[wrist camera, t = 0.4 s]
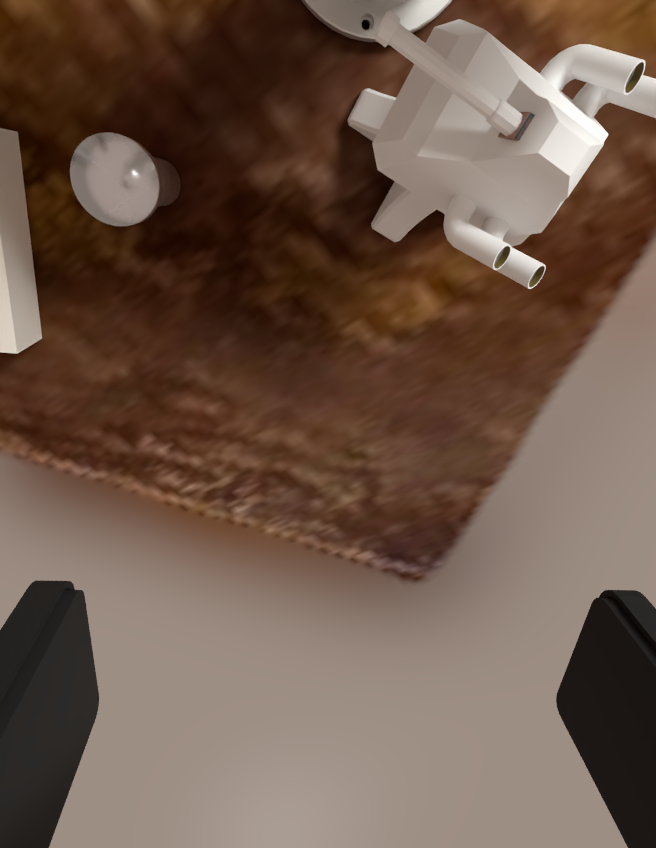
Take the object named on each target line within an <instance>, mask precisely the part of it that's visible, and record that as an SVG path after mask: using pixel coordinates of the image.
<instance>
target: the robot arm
mask: <svg viewBox="0 0 656 848" xmlns="http://www.w3.org/2000/svg"><path fill="white" fill-rule="evenodd" d="M301 1H302V2H303V3H304V5H305V6H306V7H307V8H308V9H309V10H310V11H311V13H312V14H313V15H314V16H315V17H316V18H317V19H319V20H320V21H321V22H322V23H324V24H325V25H326V26H328V27H329V28H330V29H332V30H333V31H336V32H338V33H340V34H342V35H344V36H346V37H348V38H351V39H356V40H360V41H365V42H377V41H376V40H375V33H376V31H377V29H378V27H379V25H380V23H381V21H382V19H383V17H384V15H385V13H386V12H387V11H389V10H390V11H391V12H393V13H394V14H395V15H397V16H398V17H399V18H400V24H401V25H402V26H403V27H405V28H406V29H407V30H409V31H410V32H411V33H414V32H416V31H418V30H420V29H422V28H423V27H425V26H426V25H427V24H429V23H430V22H431V21H432V20H434V19H435V18H436V17H437V16H439V14H440V13H441V12H442V11H443V10H444V9H445V8H446V7H447V6H448V5H449V4H450V2H451V1H452V0H301ZM365 21H366V22H368V24H369V29H368V30H364V29H363V28H362V23H363V22H365ZM556 701H557V708H558V711H559V714H560V716H561V718H562V720H563V722H564V724H565V726H566V728H567V730H568V732H569V734H570V736H571V738H572V739H573V742H574V744H575V745H576V747H577V749H578V751H579V753H580V755H581V757H582V759H583V761H584V763H585V765H586V767H587V769H588V771H589V773H590V775H591V777H592V778H593V780H594V782H595V784H596V786H597V788H598V790H599V792H600V794H601V796H602V798H603V800H604V802H605V804H606V805H607V808H608V809H609V811H610V813H611V815H612V817H613V819H614V821H615V823H616V825H617V827H618V829H619V831H620V833H621V835H622V837H623V839H624V841H625V843H626V844H627V846H628V848H656V609H655V608H654V606H653V605H652V604H651V603H650V602H649V601H648V599H647V598H646V597H645V596H644V595H643V594H641V593H640V592H638V591H628V590H627V591H626V590H606V591H604V592H602V593H601V595H600V597H599V598H596V599H594V601H593V602H592V604H591V607H590V610H589V612H588V615H587V617H586V620H585V622H584V625H583V628H582V630H581V633H580V635H579V638H578V641H577V643H576V646H575V648H574V651H573V654H572V656H571V659H570V661H569V664H568V667H567V669H566V672H565V674H564V677H563V680H562V682H561V685H560V688H559V690H558V693H557V700H556ZM98 704H99V693H98V686H97V680H96V672H95V665H94V659H93V652H92V646H91V638H90V632H89V624H88V617H87V611H86V603H85V597H84V592H83V591H82V590H75V589H74V586H73V584H72V582H70V581H35V582H33V583H32V584H31V585H30V586H29V587H28V589H27V590H26V592H25V593H24V595H23V596H22V598H21V599H20V601H19V602H18V604H17V606H16V608H15V609H14V610H13V612H12V613H11V615H10V616H9V618H8V619H7V621H6V622H5V624H4V625H3V627H2V628H1V630H0V848H49V845H50V842H51V840H52V836H53V834H54V831H55V829H56V826H57V823H58V820H59V818H60V815H61V812H62V809H63V807H64V804H65V801H66V798H67V796H68V793H69V790H70V787H71V784H72V782H73V779H74V776H75V774H76V771H77V768H78V765H79V763H80V760H81V757H82V754H83V752H84V749H85V746H86V744H87V741H88V738H89V735H90V732H91V730H92V727H93V724H94V722H95V719H96V715H97V711H98Z"/></svg>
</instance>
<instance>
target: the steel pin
mask: <svg viewBox="0 0 656 848" xmlns="http://www.w3.org/2000/svg"><path fill="white" fill-rule="evenodd" d="M70 179H71V184H72V188H73V190H74V193H75V195H76V197H77V199H78V200H79V202H80V203H81V205H82V206H83V207H84V208H85V210H86V211H87V212H88V213H89V214H91V215H92V216H93V217H95V218H96V219H98V220H99V221H101V222H104V223H106V224H109V225H113V226H130V225H134V224H138V223H140V222H143V221H144V220H146V219H148V218H149V217H150V216H151V215H152V214H153V213H154V212H155V210H156V209H157V207H159V206H165V205H169V204H171V203H173V202H174V201H175V200H176V199H177V197H178V196H179V193H180V190H181V181H180V177H179V174H178V172H177V170H176V169H175V168H174V167H173V165H171V164H170V163H169V162H167V161H166V160H163V159H160V158H155V157H152V156H151V154H150V153H149V152H148V151H147V150H146V149H145V148H144V147H143V146H142V145H141V144H140V143H138V142H137V141H135V140H133V139H131V138H129V137H126V136H123V135H120V134H116V133H108V132H105V133H98V134H94V135H92V136H89V137H88V138H86V139H85V140H83V141H82V142H81V143H80V144H79V146H78V147H77V148H76V150H75V152H74V154H73V156H72V160H71V164H70Z"/></svg>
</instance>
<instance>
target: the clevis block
mask: <svg viewBox="0 0 656 848" xmlns="http://www.w3.org/2000/svg"><path fill="white" fill-rule="evenodd" d="M41 339H42V332H41V324H40V315H39V307H38V298H37V290H36V281H35V273H34V264H33V256H32V247H31V239H30V230H29V222H28V213H27V205H26V197H25V188H24V180H23V171H22V163H21V154H20V146H19V137H18V132H17V131H12V130H7V129H2V128H0V352H2V353H14V354H18V353H19V352H21V351H23V350H24V349H26V348H28V347H29V346H31V345H32V344H34V343H36V342H37V341H39V340H41Z"/></svg>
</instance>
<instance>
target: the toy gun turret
mask: <svg viewBox="0 0 656 848" xmlns="http://www.w3.org/2000/svg"><path fill="white" fill-rule="evenodd" d="M375 40H376V41H377V42H379V43H380V44H381V45H383V46H384V47H386V46H387V45H390V46H391V47H393V48H394V49H395V50H397V51H398V52H399V53H401V54H402V55H403V56H405V57H406V58H407V59H409V60H410V61H411V62H413V63H414V66H413V68H412V70H411V72H410V73H409V75H408V77H407V79H406V81H405V83H404V85H403V87H402V88H401V90H400V92H399V94H398V96H397V98H395V97H392V96H389V95H385V94H382V93H379V92H377V91H374V90H372V89H369V88H368V89H365V90H363V91H362V92H361V94H360V96H359V98H358V100H357V102H356V104H355V106H354V108H353V109H352V111H351V113H350V115H349V117H348V119H347V120H348V124H349V126H351V127H352V128H354V129H355V130H357V131H358V132H360V133H361V134H363V135H364V136H365V137H367V138H368V139H370V140H371V141H373V143H372V145H373V150H374V155H375V160H376V165H377V170H378V171H380V172H381V173H383V174H384V175H386V176H387V177H389V178H390V179H392V180H393V181H395V182H394V183H393V185H392V187H391V189H390V190H389V192H388V194H387V196H386V198H385V199H384V201H383V203H382V205H381V207H380V208H379V210H378V212H377V214H376V215H375V217H374V219H373V221H372V223H371V226H372V229H374V230H375V231H377V232H378V233H380V234H382V235H383V236H385V237H387V238H388V239H390V240H391V241H393V242H397V241H400V240H401V239H402V238H403V237H404V236H405V235H406V234H407V233H408V232H409V231H410V230H411V229H412V228H413V227H414V226H415V225H416V224H418V223H419V222H420V221H421V220H423V219H424V218H425V217H427V216H428V215H429V214H431V213H432V212H434V211H436V210H439V211H440V212H442V213H443V214H445V217H444V224H443V225H444V233H445V235H446V237H447V240H448V241H449V242H450V243H451V245H452V246H453V247H455V248H457V249H458V250H460V251H462V252H464V253H465V254H467V255H469V256H471V257H473V258H474V259H476V260H478V261H480V262H481V263H483V264H485V265H487V266H489V267H490V268H492V269H494V270H496V271H498V272H500V273H502V274H503V275H505V276H507V277H509V278H511V279H512V280H514V281H516V282H518V283H519V284H521V285H523V286H525V287H527V288H528V289H531V288H533V287H535V286H536V285H537V284H538V282H539V281H540V280H541V278H542V277H543V275H544V272H545V269H546V266H545V264H543V263H541V262H539V261H537V260H535V259H533V258H531V257H529V256H527V255H525V254H524V253H522V252H520V251H518V250H516V249H514V248H512V246H515V245H519V244H521V243H522V242H523V241H524V240H525V239H526V238H527V237H529V236H530V235H531V234H536V233H541V232H542V231H543V230H544V228H545V227H546V226H547V224H548V223H549V222H550V221H551V219H552V218H553V216H554V215H555V213H556V212H557V210H558V209H559V207H560V206H561V205H562V203H563V202H564V200H565V199H566V198H568V196H569V195H570V193H571V192H572V190H573V189H574V187H575V186H576V184H577V183H578V182H579V180H580V179H581V177H582V176H583V174H584V173H585V171H586V170H587V168H588V167H589V166H590V164H591V163H592V161H593V160H594V158H595V157H596V155H597V154H598V152H599V151H600V149H601V148H602V147H603V145H604V141H605V140H606V138H607V136H608V133H607V132H606V131H605V130H604V128H603V127H602V126H601V125H600V124H599V123H598V121H597V120H596V119H595V118H594V116H595V115H596V113H597V111H598V110H599V108H601V107H602V106H603V105H604V104H606V103H609V102H610V103H613V104H616V105H619V106H622V107H625V108H628V109H631V110H633V111H636V112H639V113H642V114H645V115H648V116H651V117H654V118H656V79H654V78H651V77H648V76H644V75H643V72H644V69H645V60H642V59H639V58H635V57H632V56H628V55H625V54H621V53H618V52H615V51H611V50H608V49H604V48H601V47H597V46H594V45H590V44H579V45H576V46H573V47H569V48H567V49H565V50H563V51H562V52H560V53H559V54H557V55H556V56H555V57H554V58H552V59H551V60H550V61H549V62H548V64H547V65H546V66H545V67H544V68H543V70H542V71H541V73H540V74H539V73H538V72H536V71H535V70H534V69H533V68H531V67H530V66H529V65H528V64H526V63H525V62H524V61H523V60H521V59H520V58H519V57H518V56H516V55H515V54H514V53H513V52H511V51H510V50H509V49H508V48H506V47H505V46H504V45H503V44H502V43H501V42H499V41H498V40H497V39H496V38H495V37H493V36H492V35H491V34H490V33H489V32H488V31H486V30H484V29H483V28H480V27H478V26H475V25H473V24H470V23H468V22H466V21H463V20H461V19H458V20H455V21H452V22H449V23H446V24H442V25H439V26H436V27H434V28H433V30H432V32H431V34H430V36H429V38H428V40H427V41H426V43H424V42H423V41H422V40H420V39H419V38H418V37H416V36H415V35H414V34H412V33H411V32H410V31H409V30H407V29H406V28H405V27H403V26H402V25H401V24H400V18H399V17H398V16H397V15H395V14H394V13H393V12H391V11H390V10H389V11H387V12H386V13H385V15H384V17H383V19H382V21H381V23H380V25H379V27H378V29H377V31H376V33H375ZM573 79H578V80H581V81H584V82H587V83H586V84H585V85H584V86H583V88H582V89H581V90H580V91H579V92H578V93H577V95H576V96H575V98H574V99H573V100H572V99H570V98H569V97H568V96H567V95H565V94H564V93H563V92H562V89H563V88H564V86H565V85H566V84H567V83H568V82H569V81H571V80H573Z"/></svg>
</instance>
